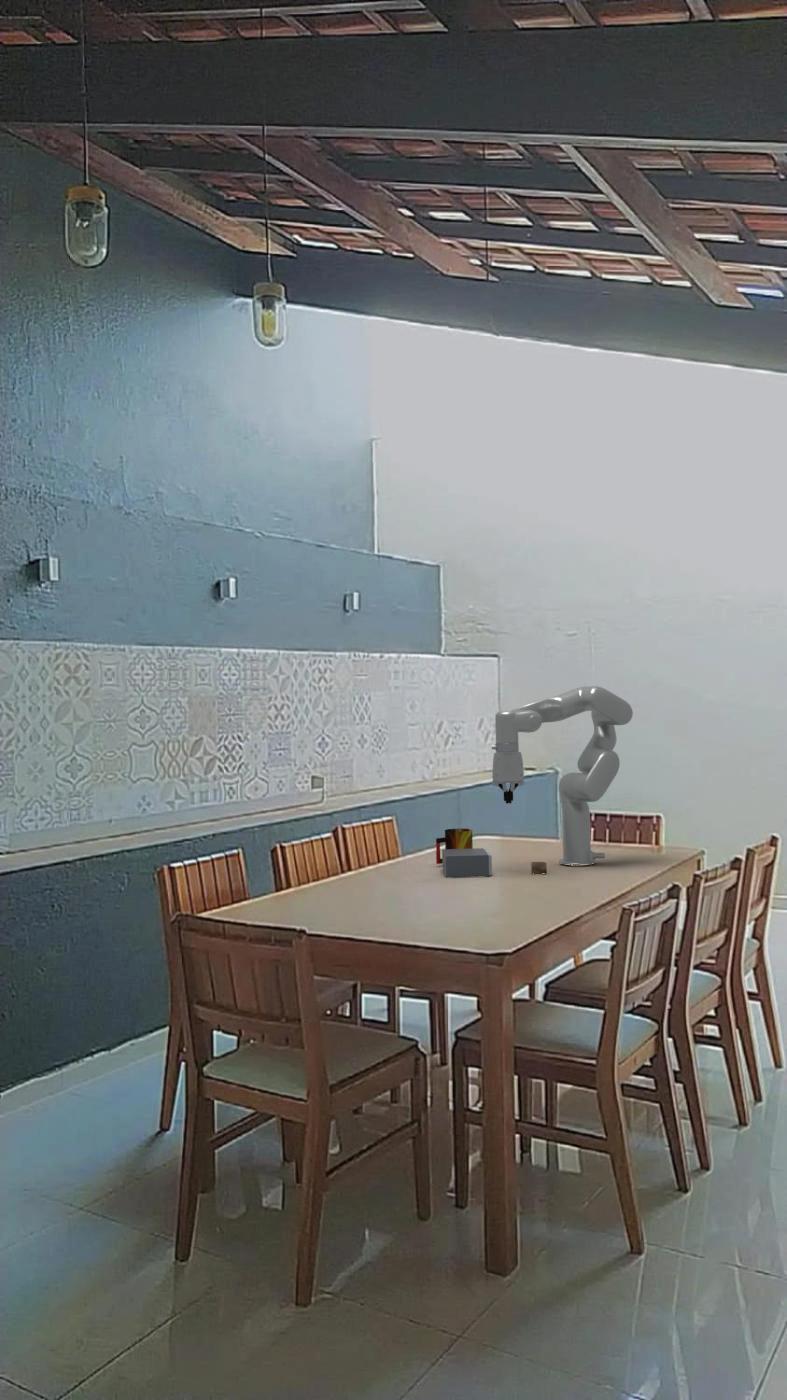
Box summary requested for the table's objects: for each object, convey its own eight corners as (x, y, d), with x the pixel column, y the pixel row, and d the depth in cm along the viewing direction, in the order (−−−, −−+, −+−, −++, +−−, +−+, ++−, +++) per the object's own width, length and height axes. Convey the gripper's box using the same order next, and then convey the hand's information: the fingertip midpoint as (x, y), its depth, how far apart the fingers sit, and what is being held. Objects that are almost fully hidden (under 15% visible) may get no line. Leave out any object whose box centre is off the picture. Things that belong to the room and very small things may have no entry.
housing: (483, 868, 396) (483, 848, 396) (489, 876, 380) (488, 855, 379) (442, 869, 396) (442, 849, 396) (446, 877, 379) (445, 856, 379)
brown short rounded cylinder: (545, 872, 386) (545, 861, 386) (547, 874, 381) (547, 863, 381) (530, 872, 386) (530, 862, 386) (532, 874, 381) (532, 864, 381)
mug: (435, 867, 403) (435, 832, 403) (452, 861, 415) (451, 828, 415) (461, 868, 398) (460, 833, 398) (477, 862, 411) (476, 829, 411)
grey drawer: (487, 868, 395) (486, 849, 395) (491, 875, 381) (491, 855, 380) (447, 869, 395) (447, 850, 395) (451, 876, 380) (450, 856, 380)
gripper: (486, 749, 384) (487, 804, 384) (531, 748, 384) (532, 803, 384) (483, 748, 391) (485, 802, 392) (527, 747, 392) (529, 801, 392)
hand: (508, 803), depth 388 cm, fingers closed
